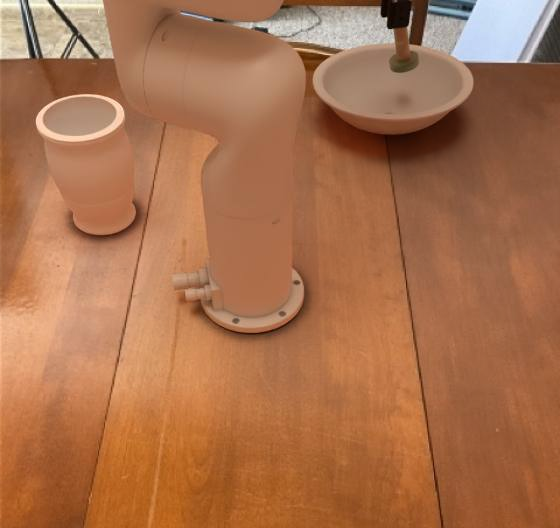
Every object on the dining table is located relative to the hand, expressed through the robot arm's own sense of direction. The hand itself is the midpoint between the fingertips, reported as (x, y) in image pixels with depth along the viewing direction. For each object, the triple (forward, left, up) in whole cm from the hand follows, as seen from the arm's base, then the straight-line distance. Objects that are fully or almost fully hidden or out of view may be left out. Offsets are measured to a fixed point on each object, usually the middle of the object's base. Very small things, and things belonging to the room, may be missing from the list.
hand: (394, 20), depth 99 cm
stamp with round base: (+2, -1, -7) cm, 7 cm away
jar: (-45, -19, -14) cm, 51 cm away
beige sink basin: (0, -4, -14) cm, 14 cm away
